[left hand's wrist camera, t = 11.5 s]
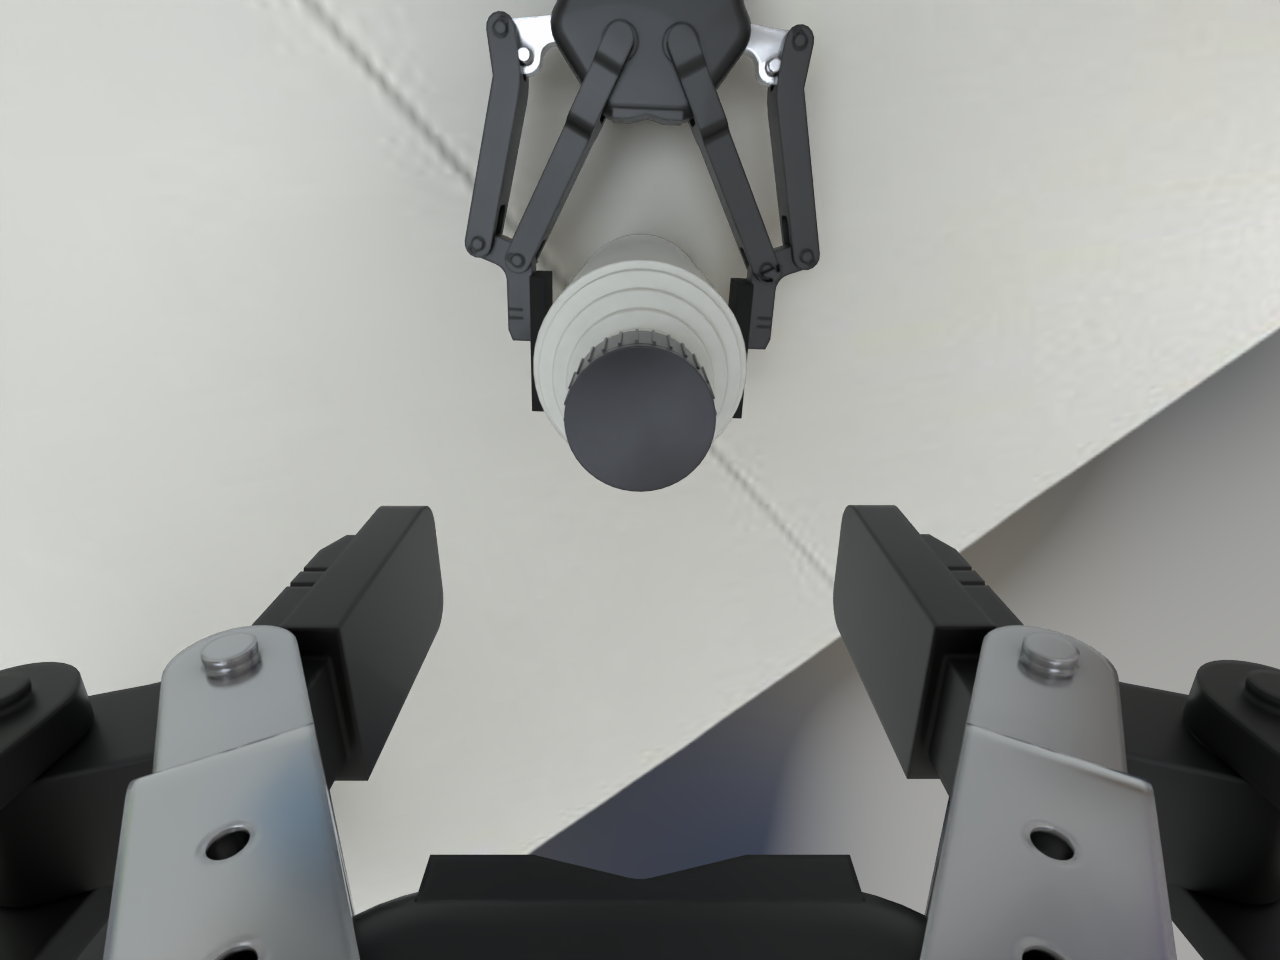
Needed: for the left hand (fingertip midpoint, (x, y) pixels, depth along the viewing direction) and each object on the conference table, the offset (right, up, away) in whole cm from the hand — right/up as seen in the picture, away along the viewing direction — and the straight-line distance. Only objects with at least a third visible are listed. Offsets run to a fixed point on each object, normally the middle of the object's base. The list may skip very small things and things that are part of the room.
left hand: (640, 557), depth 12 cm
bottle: (0, +12, +29) cm, 31 cm away
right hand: (0, +5, +25) cm, 25 cm away
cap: (0, +3, +7) cm, 8 cm away
